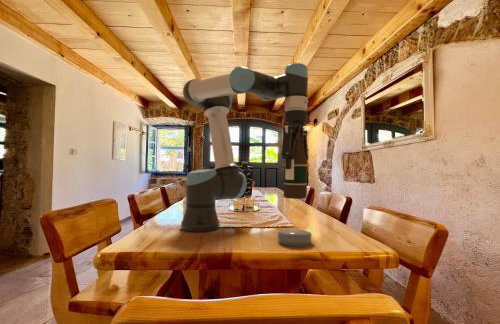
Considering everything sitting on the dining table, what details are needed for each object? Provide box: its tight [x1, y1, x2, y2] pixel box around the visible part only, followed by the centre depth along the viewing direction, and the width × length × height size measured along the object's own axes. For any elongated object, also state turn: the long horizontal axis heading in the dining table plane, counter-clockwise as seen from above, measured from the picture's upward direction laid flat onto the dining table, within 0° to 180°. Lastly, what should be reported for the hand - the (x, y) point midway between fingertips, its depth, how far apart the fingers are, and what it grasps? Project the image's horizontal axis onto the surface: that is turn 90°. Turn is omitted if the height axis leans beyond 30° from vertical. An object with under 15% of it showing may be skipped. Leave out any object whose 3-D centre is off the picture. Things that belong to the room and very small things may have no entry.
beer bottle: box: [283, 126, 308, 200], centre depth 91 cm, size 8×8×24 cm
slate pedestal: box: [277, 228, 312, 248], centre depth 91 cm, size 11×11×3 cm
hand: (295, 179), depth 91 cm, fingers closed on beer bottle, 8 cm apart
